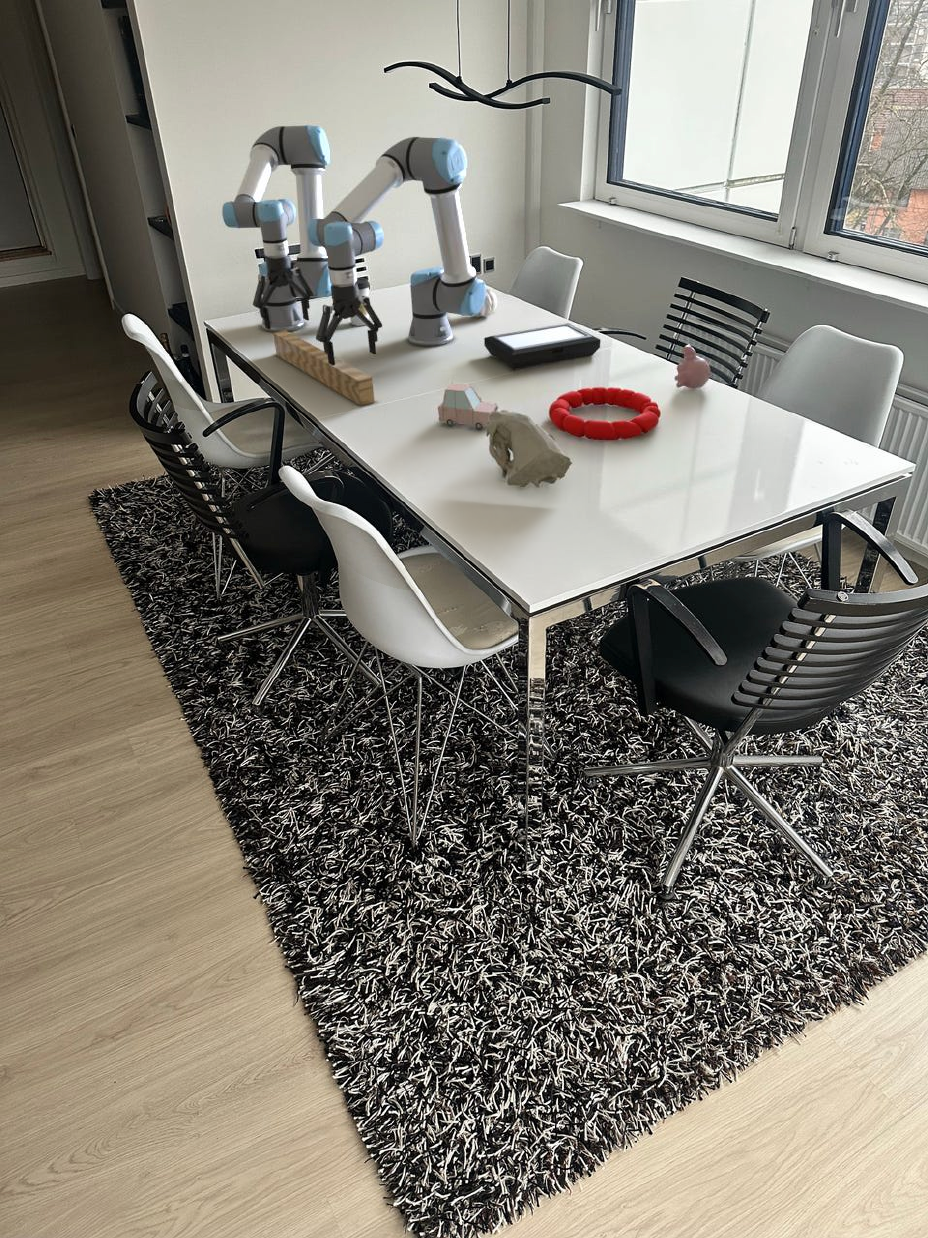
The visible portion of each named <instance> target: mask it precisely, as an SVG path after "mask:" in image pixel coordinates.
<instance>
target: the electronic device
mask: <svg viewBox="0 0 928 1238" xmlns="http://www.w3.org/2000/svg"><path fill="white" fill-rule="evenodd" d="M483 345H484V347H485V349H486V350H487V351H488V352H489V354H490V355H491V356H492V357H494V358H495V359H497V360H498V361H500V362H502V363H503V364H505V365H507V366H508V367H510V368H511V369H512V370H514V371H515V370H518V369H524V368H530V367H536V366H540V365H541V366H542V365H547V364H553V363H558V362H564V361H569V360H574V359H580V358H581V359H582V358H585V357H586V358H587V357H593V356H594V354H596V353H597V351H598V350H600V348H601V339H600V338H598V337H597V336H595V335H593V334H590V333H589V332H587V331H585V330H583V329H581V328H580V327H577V326H575V325H573V324H571V323H568V322H567V323H561V324H560V323H559V324H555V325H548V326H541V327H537V328H530V329H524V330H520V331H513V332H507V333H500V334H495V335H490V336H486V337H484V341H483Z"/></svg>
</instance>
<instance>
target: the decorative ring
mask: <svg viewBox="0 0 928 1238" xmlns="http://www.w3.org/2000/svg"><path fill="white" fill-rule="evenodd" d="M583 405H584V406H586V407H587V406H591V405H593V406H604V405H608V406H614V407H619V408H624V409H628V410H632V411H635V412H636V413H638V414H639V415H637V416H635V417H632V418H631V419H630V420H625V419H624V420H623V419H622V420H614V421H611V422H609V421H607V420H606V421H605V420H593V419H587V420H586V421H585V419H584V418H582V417H579V416H577V415H573V414H571V413H570V410H571V409H579V408H581V407H582V406H583ZM548 416H549V419H550V422H551V423H552V425H553V426H554V427H555V428H556V429H558V430H559V431H561V432H563V433H567V434H568V435H569V436H573V437H576V438H580V439H582V438H583V437H585V438H586V439H587V440H591V441H601V442H602V441H603V442H608V441H609V442H610V441H611V442H612V441H615V442H616V441H618V440H630V439H634V438H638V437H641V436H642V434H647V433H650V432H651V431H653V430H654V429H655V428H656V427H657V426H658V424H659V422H660V421H659V420H660V417H661V410H660V408H659V405H658V403H657V402H656V401H652V399H651V397H649V396H648V395H646V394H644V393H642V392H635V391H634V390H632V389H628V388H624V389H622V388H620V387H613V386H612V387H611V386H610V387H608V388H606V387H604V386H594V387H585V388H584V387H583V388H580V389H578V390H571V391H568V392H565V393H563V394H561V395H560V396H558V397H557V398H556V400H554V401H552V403H551V404H550V407H549V409H548Z"/></svg>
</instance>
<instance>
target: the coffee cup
mask: <svg viewBox="0 0 928 1238" xmlns="http://www.w3.org/2000/svg"><path fill="white" fill-rule="evenodd" d="M356 283H357V284H358V292H359V299H360V298H362V296H366V297H368V298H369V299H370V287H371V283H370V282H369V279H367V278H365V277H357V281H356ZM359 310H360V311H361V312H362V313H363V315H364V316H365V317H366V318H367V319H368V320H369V318H370V316H369V314H368V313H367V311H366V309H365V308H364V306H363V305H362V304H360V307H359ZM349 318H350V323H351V325H353V326H357V327H359V326H365V325H366V324H365V323H363V322H362V321H361V320H360V319H359V318H358V317H357V316H356V315H355V316H354V317H349ZM366 326H367V325H366Z"/></svg>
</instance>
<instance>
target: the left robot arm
mask: <svg viewBox="0 0 928 1238" xmlns="http://www.w3.org/2000/svg"><path fill="white" fill-rule="evenodd" d="M330 163H331V150H330V145H329V141H328V137H327V134H326V132H325V130H324V129H323V128H322V127H321V126H320V125H319V126H318V125H310V124H306V125H287V126H284V125H279V126H274V127H272V128H269V129H267V130H266V131H265V132H263V133H262V134H261V135H260V136H259V137H258V138H257V139H256V140H255V142H254V143H253V144H252V147H251V148H250V152H249V163H248V166H247V168H246V171H245V173H244V175H243V178H242V181H241V183H240V186H239V188H238V191H237V193H236V196H235V198H234V201H231V200H230V201H226V202H223V205H222V211H221V214H222V215H221V216H222V219H223V223H224V225H225V226H226V227H227V228H232V229H253V228H254V229H260V233H261V234H260V235H261V238H262V245H263V247H262V248H263V254H264V256H265V258H264V260H265V261H263V262H261V263H260V265H259V266H258V270H259V274H258V275H257V278H258V279H257V280H258V281H257V286H256V290H255V293H254V297H253V301H252V306H253V307H255V308H257V309H259V313H260V314H259V315H260V318H261V326H262V330H264V331H265V332H271V333H275V332H280V331H284V330H286V331H288V332H293V331H296V330H297V331H298V330H300V329H302V328H304V326H305V321H310V317H309V310H310V306H311V305H310V299H311V298H313V299H314V298H316V299H322V298H329V297H332V294H331V285H332V284H331V283H330V278H329V269H328V261H327V253H326V248H322V247H318V246H315V245H313V244H312V243H311V242H310V240H309V237H308V226H309V224H310V222H311V221H312V220H313V219H319V218H322V219H324V204H323V186H322V184H323V183H322V176H323V174H324V173H326V166H328V165H329V164H330ZM279 166H290V171H291V173H293V175H294V176H295V185H296V200H297V209H296V207H295V205H294V204H293V202H292V201H290V200H289V199H287V198H281V199H265V200H263V197H264V195H265V192H266V189H267V186H268V184H269V181H270V179H271V175H272V173H273V172H275V171H276V170H277V169H278V167H279ZM297 215H298V216H297ZM296 217H298V231H299V233H298V234H299V246H300V247H299V248H300V252H299V254H298V255H297V256H296V262H293V261H292V259H291V257H290V255H289V253H290V251H289V244H288V236H287V235H288V234H287V227H289V226H291V225H292V224H293V222H294V221H295V219H296ZM297 298H300V304H301V310H300V307H299V306H298V305H299V304H298V303H297Z"/></svg>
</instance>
